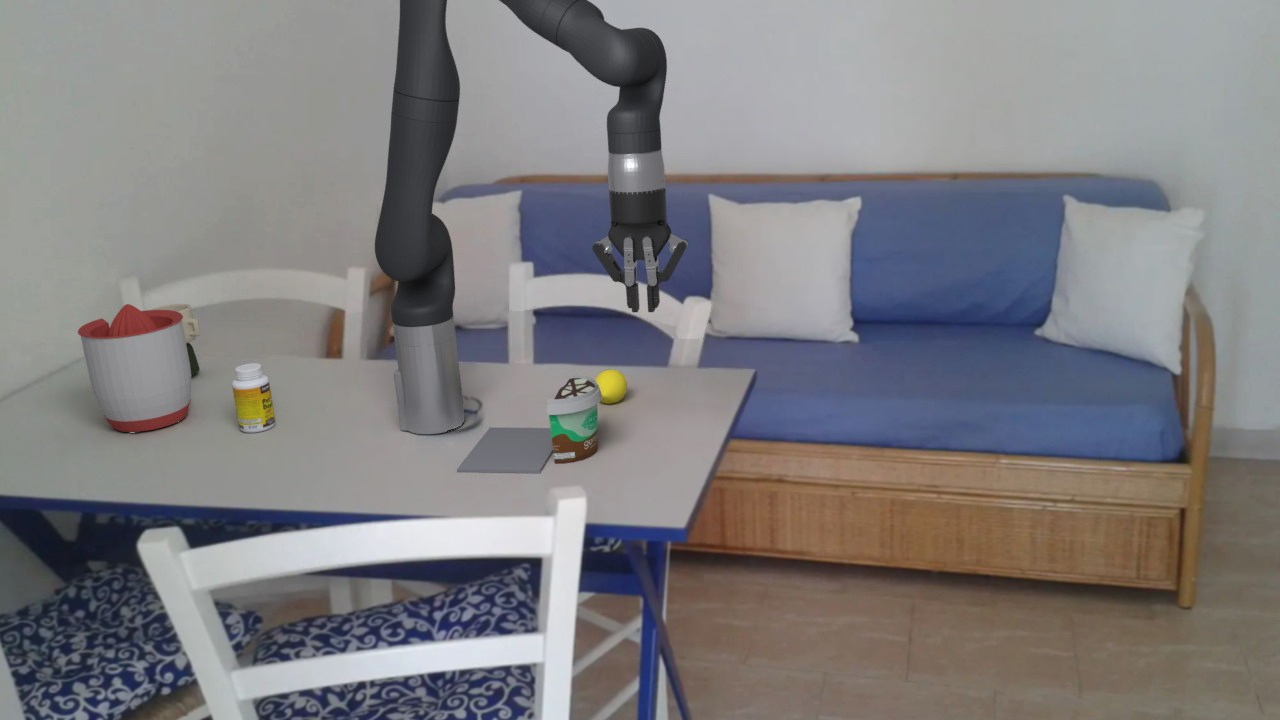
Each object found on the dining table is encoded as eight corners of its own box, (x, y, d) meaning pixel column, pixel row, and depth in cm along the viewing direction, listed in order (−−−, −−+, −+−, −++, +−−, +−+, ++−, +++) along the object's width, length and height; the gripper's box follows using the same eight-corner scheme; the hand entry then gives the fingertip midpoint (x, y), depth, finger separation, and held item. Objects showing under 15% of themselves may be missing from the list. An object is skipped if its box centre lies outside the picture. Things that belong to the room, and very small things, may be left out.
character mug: (145, 381, 208) (131, 313, 204) (170, 369, 215) (157, 302, 211) (195, 384, 205) (182, 314, 201) (219, 371, 212) (207, 304, 208)
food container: (594, 469, 158) (589, 401, 155) (551, 468, 159) (546, 400, 156) (613, 436, 169) (609, 372, 166) (574, 435, 171) (569, 372, 168)
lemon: (622, 412, 181) (619, 381, 178) (589, 410, 182) (586, 380, 180) (633, 391, 187) (630, 362, 184) (602, 390, 188) (598, 361, 186)
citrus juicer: (182, 395, 199) (161, 285, 193) (213, 421, 186) (191, 303, 179) (87, 418, 190) (62, 303, 184) (111, 447, 177) (85, 323, 171)
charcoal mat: (457, 471, 160) (456, 469, 160) (490, 429, 175) (489, 427, 175) (539, 473, 158) (539, 470, 158) (566, 430, 173) (565, 428, 173)
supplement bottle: (270, 433, 179) (260, 371, 176) (235, 435, 179) (224, 373, 176) (280, 420, 184) (270, 360, 181) (245, 422, 184) (235, 362, 181)
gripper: (580, 191, 149) (589, 318, 154) (684, 188, 146) (690, 318, 152) (592, 181, 156) (600, 304, 161) (691, 179, 153) (696, 303, 159)
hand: (644, 310), depth 156 cm, fingers closed
